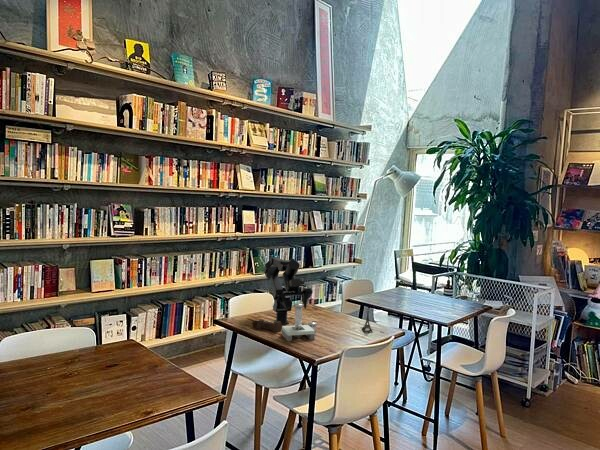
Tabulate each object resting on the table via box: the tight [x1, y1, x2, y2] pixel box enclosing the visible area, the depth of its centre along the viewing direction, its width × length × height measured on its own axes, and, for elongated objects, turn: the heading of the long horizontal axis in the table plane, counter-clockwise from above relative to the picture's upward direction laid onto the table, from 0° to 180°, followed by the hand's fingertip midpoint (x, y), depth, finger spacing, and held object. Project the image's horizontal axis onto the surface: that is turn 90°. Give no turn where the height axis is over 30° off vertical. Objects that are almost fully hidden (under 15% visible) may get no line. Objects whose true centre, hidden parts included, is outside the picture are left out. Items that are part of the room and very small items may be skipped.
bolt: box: [251, 319, 283, 333], centre depth 215 cm, size 6×5×15 cm
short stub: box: [307, 321, 318, 334], centre depth 213 cm, size 4×4×5 cm
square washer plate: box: [281, 324, 316, 342], centre depth 205 cm, size 10×13×4 cm
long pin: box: [293, 302, 304, 339], centre depth 205 cm, size 4×4×16 cm
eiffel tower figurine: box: [351, 307, 386, 334], centre depth 219 cm, size 15×10×13 cm
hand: (296, 308), depth 208 cm, fingers open, 9 cm apart
